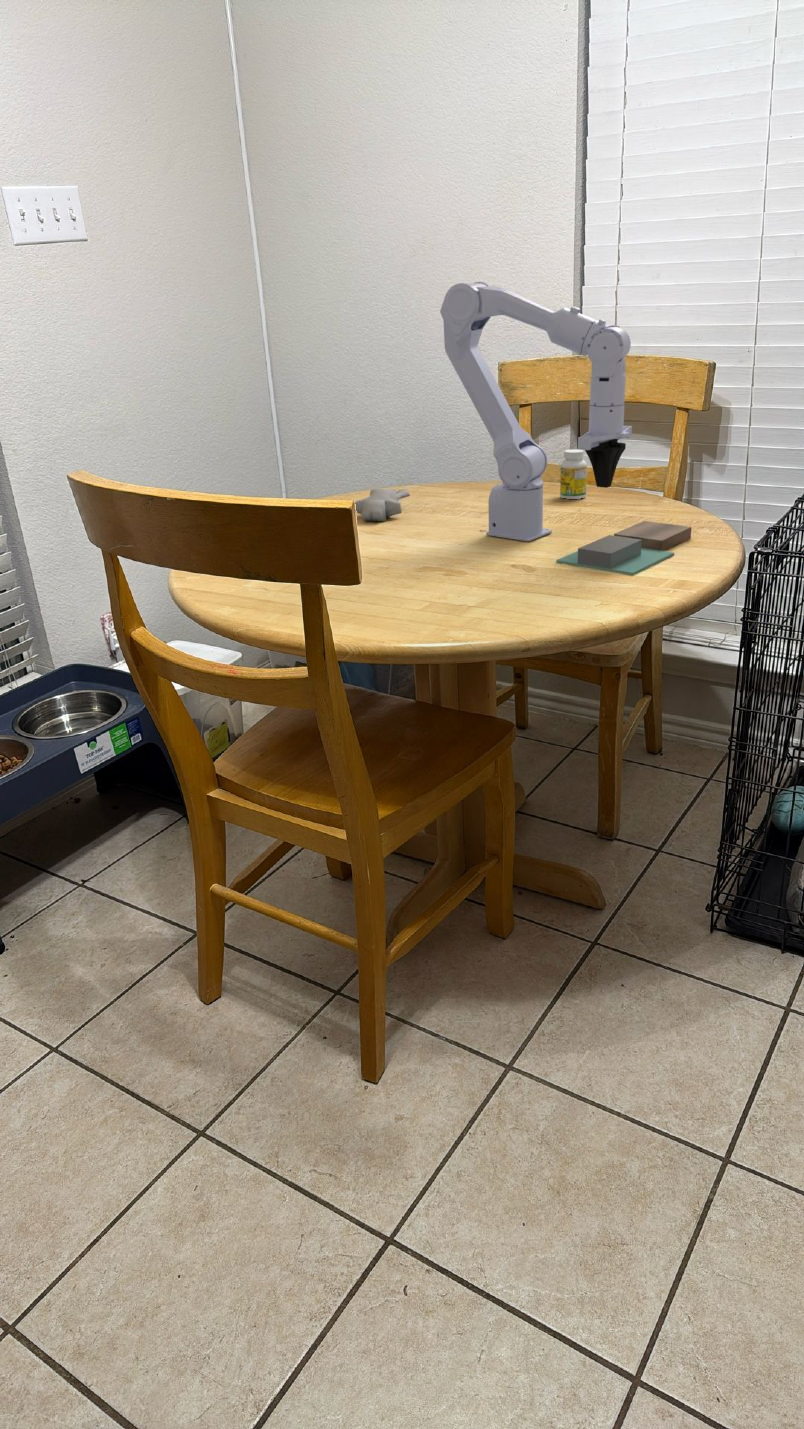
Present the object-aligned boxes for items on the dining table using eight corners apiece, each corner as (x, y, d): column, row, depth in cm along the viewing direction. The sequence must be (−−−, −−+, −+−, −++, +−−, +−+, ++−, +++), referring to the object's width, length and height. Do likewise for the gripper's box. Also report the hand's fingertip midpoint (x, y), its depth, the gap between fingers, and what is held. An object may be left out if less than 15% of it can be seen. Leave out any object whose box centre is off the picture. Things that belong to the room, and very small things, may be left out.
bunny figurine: (347, 503, 190) (370, 479, 202) (349, 528, 193) (372, 503, 205) (393, 504, 188) (413, 479, 200) (395, 529, 190) (415, 503, 202)
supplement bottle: (590, 498, 203) (592, 451, 199) (568, 501, 201) (569, 454, 197) (577, 493, 207) (578, 447, 203) (555, 496, 206) (556, 450, 202)
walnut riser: (613, 545, 168) (613, 533, 167) (643, 531, 175) (644, 520, 174) (661, 552, 162) (662, 540, 161) (690, 538, 170) (691, 526, 169)
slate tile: (577, 563, 157) (577, 548, 156) (608, 549, 164) (609, 535, 163) (610, 568, 153) (611, 553, 152) (640, 554, 160) (641, 539, 159)
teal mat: (556, 562, 159) (556, 560, 159) (599, 543, 169) (599, 541, 169) (632, 575, 151) (633, 572, 151) (674, 554, 160) (674, 552, 160)
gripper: (606, 411, 154) (602, 496, 160) (649, 400, 164) (644, 481, 170) (568, 409, 159) (565, 492, 164) (612, 398, 168) (609, 477, 174)
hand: (603, 486), depth 167 cm, fingers closed
